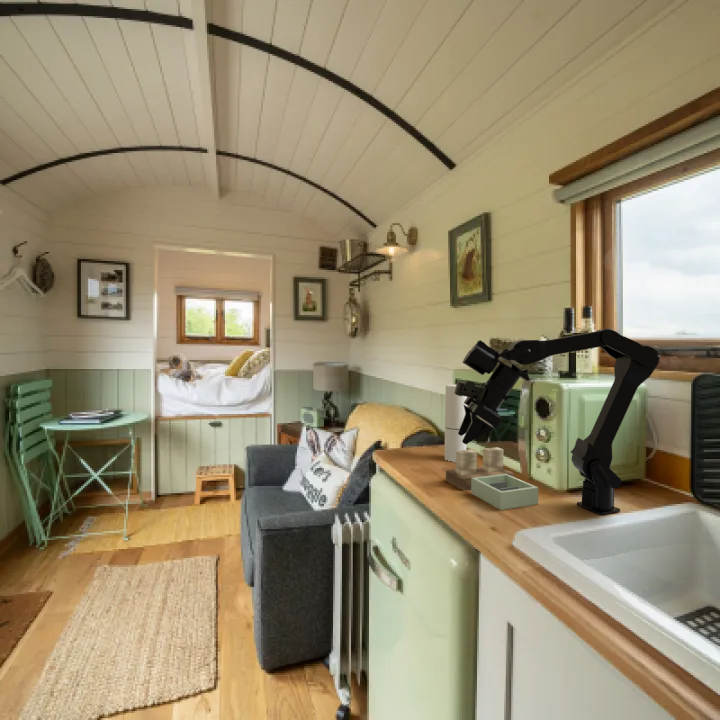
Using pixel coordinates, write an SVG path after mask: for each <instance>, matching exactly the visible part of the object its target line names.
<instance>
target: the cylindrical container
mask: <svg viewBox="0 0 720 720" xmlns="http://www.w3.org/2000/svg"><path fill="white" fill-rule="evenodd" d="M455 388H456V384H445V396H444V397H445V399H444V400H445V401H444V402H445V403H444V404H445V405H444V406H445V407H444V409H445V410H444V411H445V412H444V454H443V455H444V460H445V461H447V460H448V461H447V462H450V461H452V462H451V463H456V451H463V450H467V444H464V443H463V442H462V440H463V438H464V436H465V434H466V433H465V434H464V435H462V436H460V435H459V434H458V432H459V429H460V427H461V424H462V421H463V419H464V416H465V409H464V405H465V406H467V405H466V404H465V403H464V401H465V400H466V398H467V397H466V396H458V395H456V394H455V393H454V392H455Z"/></svg>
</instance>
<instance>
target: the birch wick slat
mask: <svg viewBox="0 0 720 720" xmlns="http://www.w3.org/2000/svg"><path fill="white" fill-rule="evenodd" d="M477 457H478V452H477V451H476V450H473V449H466V450H463V451H456V462H455V469H456V474H458V475H460V476H464V475H473V474H476V472H477V467H478V466H477V465H478V464H477V463H478V458H477Z"/></svg>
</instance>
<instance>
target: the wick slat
mask: <svg viewBox="0 0 720 720" xmlns="http://www.w3.org/2000/svg"><path fill="white" fill-rule="evenodd" d="M482 466H483V470H484V471H486V472H488V473H490V472H498V471H503V469H504V448H500V447H487V448H482Z"/></svg>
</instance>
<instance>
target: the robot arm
mask: <svg viewBox="0 0 720 720" xmlns="http://www.w3.org/2000/svg"><path fill="white" fill-rule="evenodd" d="M594 348H595V349H596V348H600V349H602V350H603V352H605V353H606V354H607V355H608V356H610V357H611V358H613V360H615V363H614V369H613V371H614V380H613V383H612V386H611V387H610V390H609V391H608V394H607V396H606V398H605V399H604V400H605V401H604V402H603V405H602V408H601V409H600V412H599V414H598V416H597V418H596V421H595V423H594V424H593V427H592V430H591V431H590V433H589V435H588V436H586V437H585V438H584V439H582V438H580V437H577V438H576V441H575V445H574V447H573V449H571V451H570V453H571V462H572V464H573V466H574V468H576V469H577V470H578V472H579V474H580V476H581V477H583V478H584V480H582V488H581V501H576V506H579V507H582V508H584V509H586V510H589V511H590V512H593V513H596V514H598V515H608V514H612V513H618V512H621V508H619V507H616V506H615V489H619V488H620V485H621V484H622V481H623V480H622V479H621V478H620V477H619V476H618V475H617V473H615V472H614V471H613V470H612V469H611V465H612V462H613V443H614V441H615V438H616V436H617V434H618V432H619V429H620V427H621V425H622V423H623V421H624V418H625V416H626V414H627V412H628V409H629V407H630V406H631V403H632V401H633V399H634V397H635V394H636V392H637V390H638V388H639V387H640V386H641V385H642V384H643V383H644V382H646V380H648V379H649V378H650V377H651V376H652V374H653V373H654V371H655V370H656V368H657V367H658V366H659V363H660V362H661V361H660V360H661V357H660V355H659V354H658V351H657V350H656V349H655V348H654V347H652V346H650V345H649V346H648V345H643V344H641V343H639V342H637V341H635V340H634V339H631V338H630V337H629V338H628V337H627V336H624V335H622V334H620V333H619V332H617V331H615V330H614V329H613V328H612V329H611V328H602V329H597V330H595V331H592V332H591V331H590V332H586V333H585V332H584V333H579V334H574V335H570V336H568V335H567V336H564V337H557V338H553V339H527V340H526V339H524V340H517V341H516V340H515V341H513V342H512V343H510V344H509V346H508V347H507V348H505V349H502V350H501V349H500V350H499V351H496V350H495V349H493V348H492V347H490V346H489V345H488V344H486V343H485V342H484V341H482V340H477V341H476V343H475V344H474V346H472V348H471V349H470V350H469V351H468V352H467V353H466V355H465V357H464V358H463V360H462V364H464V365H466V366H467V367H469V368H470V369H472V370H473V371H475V372H477V373H478V374H480V375H481V376H484V374H487V375H490V374H491V375H490V376H489V378H488V379H487V380H486V382H485V381H484V382H482V383H481V384H480V385H476V384H475V381H471V380H466V381H465V382H464V381H459V380H457V382H456V384H455V385H456V388H455V392H454V393H455V394H456V395H458V396H466V397H467V398H466V400H465V401H464V403H465V404H466V405H467V406H465V405H464V409H465V416H464V419H463V421H462V424H461V427H460V429H459V432H458V434H459V435H460V436H462V435H464V434H465V433H466V434H465V436H464V438H463V440H462V442H463V443H464V444H466V445H469V444H470V443H471V442H472V441H475V440H477V439H478V438H479V437H482V436H483V435H485V434H487V433H489V432H492V431H494V430H495V429H498V428H499V427H500V425H501V424H502V423H503V419H502V415H501V414H499V411H498V410H499V408H500V406H501V405H502V404H503V402H506V401H508V399H509V397H508V396H509V394H510V392H511V391H512V389H513V388H514V387H515V385H516V384H517V383H518V381H519V380H520V379H522V380H524V381H526V382H529V381H531V378H530V376H529V375H530V374H529V369H527V368H524V369H521V368H519V367H518V366H516V365H521V366H523V365H525V366H528V365H531V364H534V363H537V362H541V361H543V360H545V359H547V358H550V357H552V356H556V355H560V354H561V355H562V354H566V353H572V352H577V351H583V350H589V349H594ZM502 361H510V362H511V363H509V364H506V363H504V362H502ZM515 364H516V365H515Z"/></svg>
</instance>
